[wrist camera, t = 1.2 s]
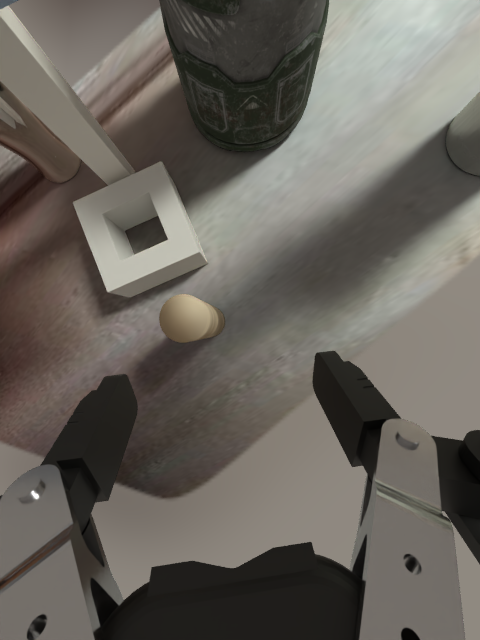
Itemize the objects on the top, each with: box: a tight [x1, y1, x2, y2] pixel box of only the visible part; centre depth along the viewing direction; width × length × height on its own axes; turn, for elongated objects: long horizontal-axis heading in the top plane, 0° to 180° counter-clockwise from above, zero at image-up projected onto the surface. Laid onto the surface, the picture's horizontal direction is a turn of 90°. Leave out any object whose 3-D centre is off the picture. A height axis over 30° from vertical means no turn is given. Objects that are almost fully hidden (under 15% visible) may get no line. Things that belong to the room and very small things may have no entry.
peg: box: [159, 294, 225, 343], centre depth 26 cm, size 4×4×12 cm
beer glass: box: [0, 81, 80, 183], centre depth 27 cm, size 7×7×15 cm
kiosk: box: [0, 0, 208, 298], centre depth 20 cm, size 14×16×26 cm
